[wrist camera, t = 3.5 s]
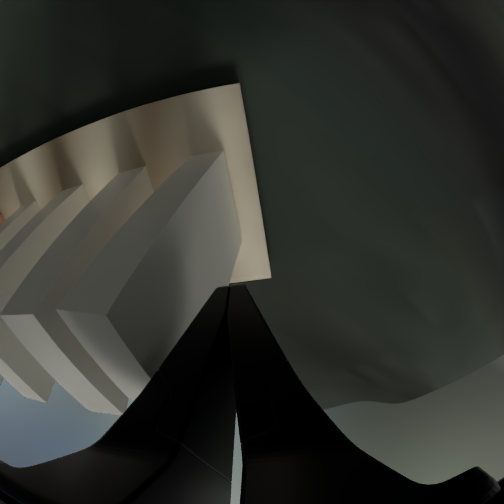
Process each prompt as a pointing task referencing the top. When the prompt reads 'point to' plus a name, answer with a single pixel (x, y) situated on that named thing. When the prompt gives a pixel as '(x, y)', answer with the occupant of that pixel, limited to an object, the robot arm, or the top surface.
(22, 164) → the beige flat rectangular board
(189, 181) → the domino
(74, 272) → the domino
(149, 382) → the robot arm
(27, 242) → the domino
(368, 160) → the top surface
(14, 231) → the domino
